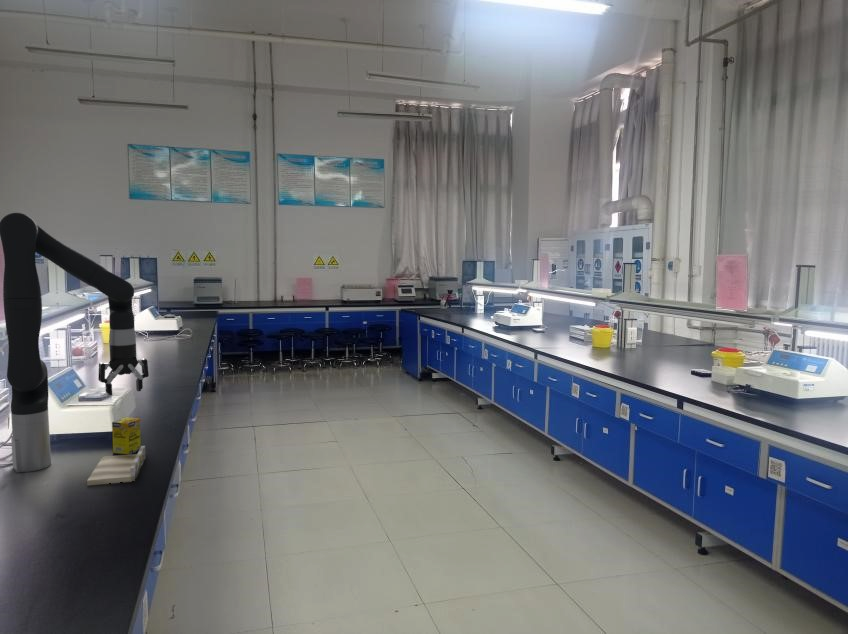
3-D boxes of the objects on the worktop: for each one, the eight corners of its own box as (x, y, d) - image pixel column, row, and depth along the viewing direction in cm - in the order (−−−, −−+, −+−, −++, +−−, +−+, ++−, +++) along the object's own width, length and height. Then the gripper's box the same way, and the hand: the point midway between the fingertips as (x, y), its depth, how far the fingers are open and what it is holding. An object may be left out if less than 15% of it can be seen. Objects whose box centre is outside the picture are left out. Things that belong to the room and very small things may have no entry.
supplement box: (129, 456, 189) (127, 423, 188) (112, 455, 190) (111, 422, 189) (141, 450, 195) (140, 418, 194) (125, 449, 196) (124, 416, 195)
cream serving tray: (135, 481, 169) (134, 467, 169) (87, 485, 166) (86, 471, 165) (146, 457, 188) (145, 445, 188) (103, 461, 185) (102, 448, 184)
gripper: (101, 346, 181) (103, 398, 183) (150, 342, 191) (152, 391, 193) (94, 343, 187) (96, 394, 188) (142, 339, 196) (144, 387, 198)
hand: (124, 392), depth 191 cm, fingers open, 8 cm apart
